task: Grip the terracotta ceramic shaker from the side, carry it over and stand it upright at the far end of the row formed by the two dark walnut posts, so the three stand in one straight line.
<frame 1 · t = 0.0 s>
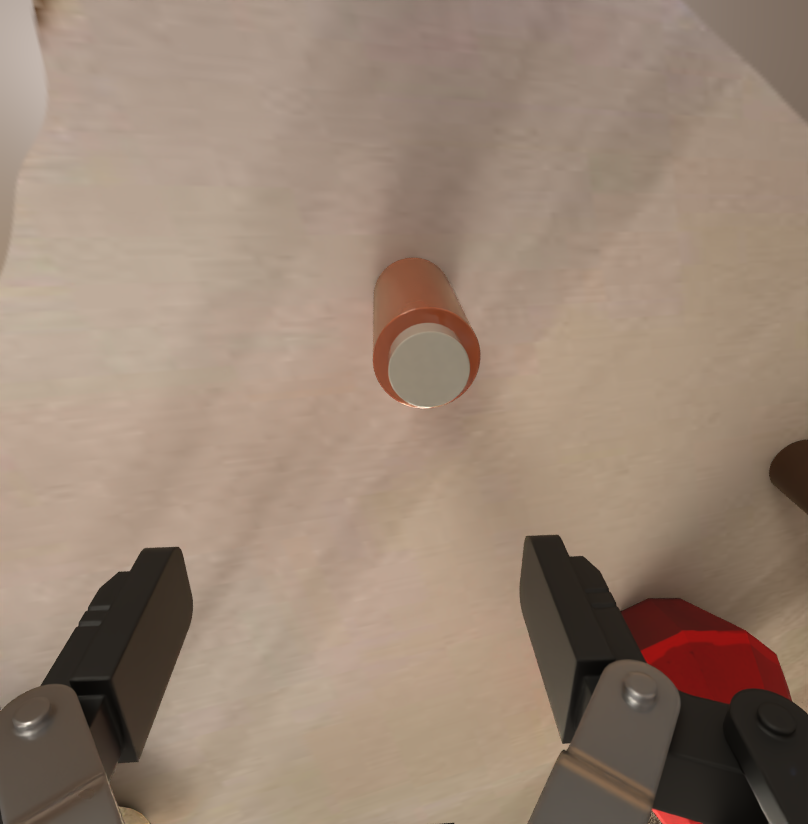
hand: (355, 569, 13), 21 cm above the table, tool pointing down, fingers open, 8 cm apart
shaker: (412, 297, 32), on the table
post b: (798, 465, 38), on the table
bottle: (652, 639, 45), on the table
bowl: (130, 817, 53), on the table
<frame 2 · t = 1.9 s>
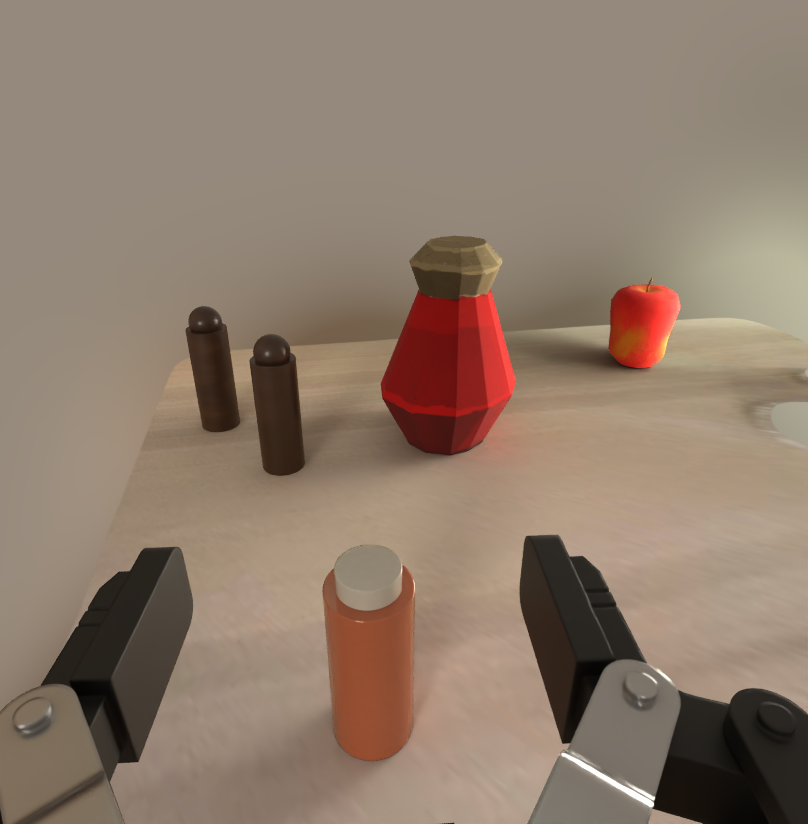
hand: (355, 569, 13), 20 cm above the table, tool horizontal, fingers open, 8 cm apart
apple: (633, 363, 80), on the table
shaker: (373, 722, 32), on the table
post b: (284, 464, 56), on the table
bottle: (446, 434, 62), on the table
post a: (221, 423, 63), on the table
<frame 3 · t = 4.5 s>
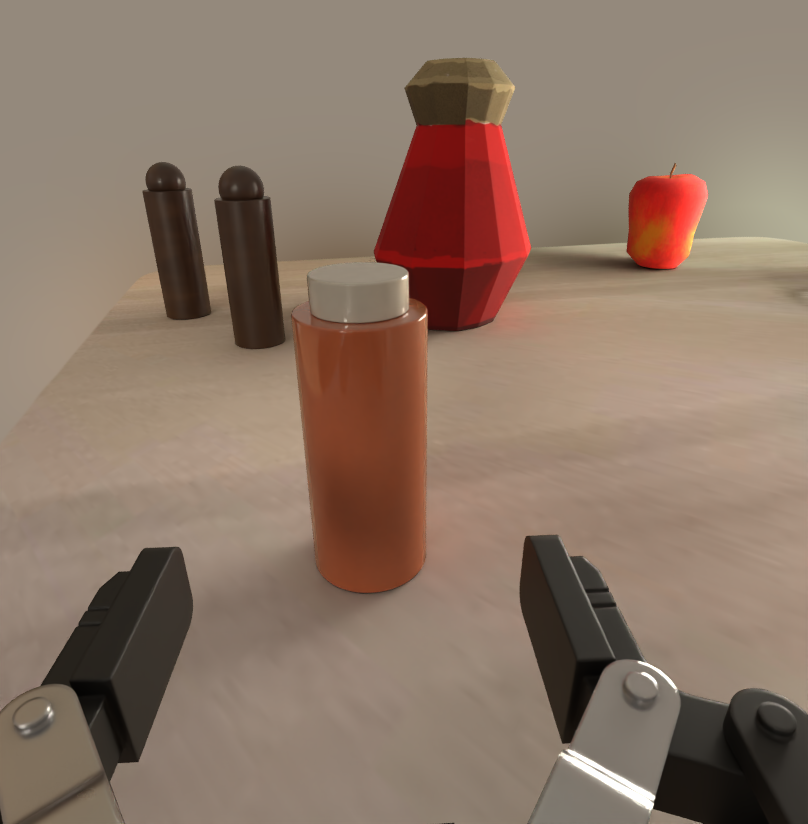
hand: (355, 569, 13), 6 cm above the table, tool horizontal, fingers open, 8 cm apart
apple: (655, 267, 72), on the table
shaker: (370, 554, 23), on the table
post b: (260, 340, 47), on the table
bottle: (451, 317, 53), on the table
post a: (189, 313, 54), on the table
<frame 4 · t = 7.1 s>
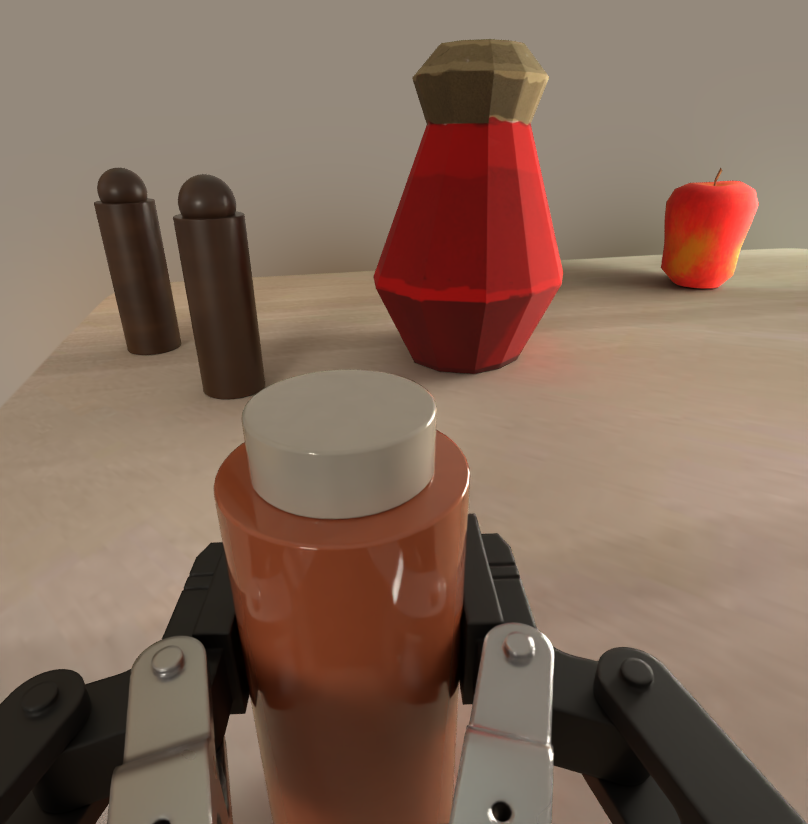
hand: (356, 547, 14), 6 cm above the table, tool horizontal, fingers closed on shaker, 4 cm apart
apple: (693, 285, 63), on the table
shaker: (364, 807, 14), on the table, touching gripper
post b: (234, 386, 38), on the table
bottle: (465, 353, 44), on the table
post a: (155, 346, 46), on the table
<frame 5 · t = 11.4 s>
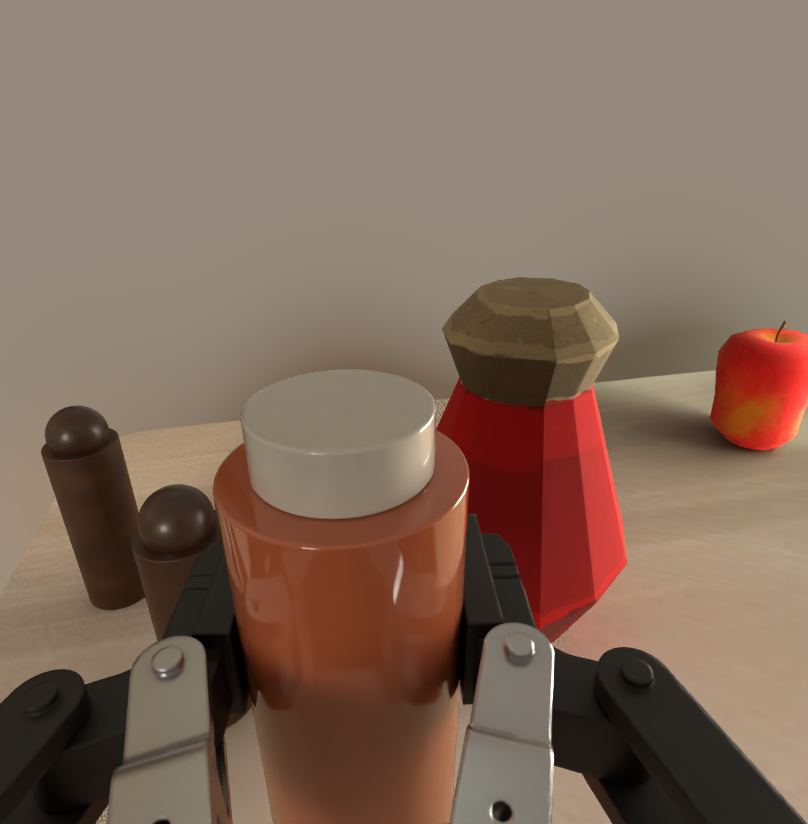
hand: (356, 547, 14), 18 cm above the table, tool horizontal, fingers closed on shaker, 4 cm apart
apple: (747, 440, 55), on the table
shaker: (364, 807, 14), point 12 cm above the table, touching gripper
post b: (217, 697, 30), on the table
bottle: (500, 604, 37), on the table
post a: (123, 587, 38), on the table
when the fingers open (6 cm above the table, at t = 15.5 s): shaker stays where it is, on the table.
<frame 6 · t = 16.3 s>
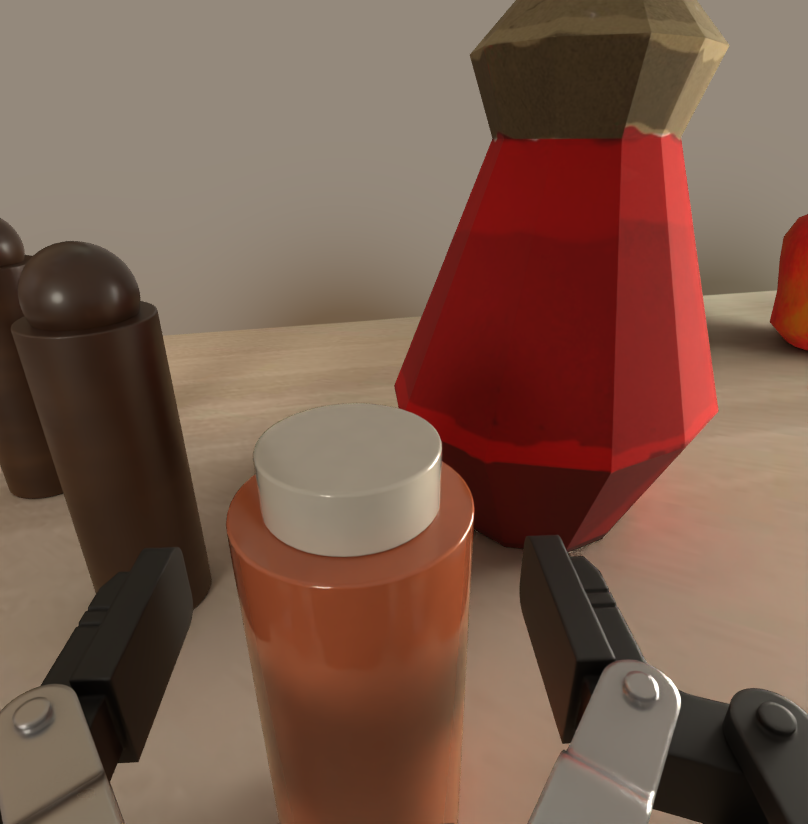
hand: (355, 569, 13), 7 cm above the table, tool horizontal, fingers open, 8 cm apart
shaker: (371, 823, 15), on the table
post b: (158, 590, 22), on the table
bottle: (537, 494, 28), on the table
post a: (54, 476, 30), on the table
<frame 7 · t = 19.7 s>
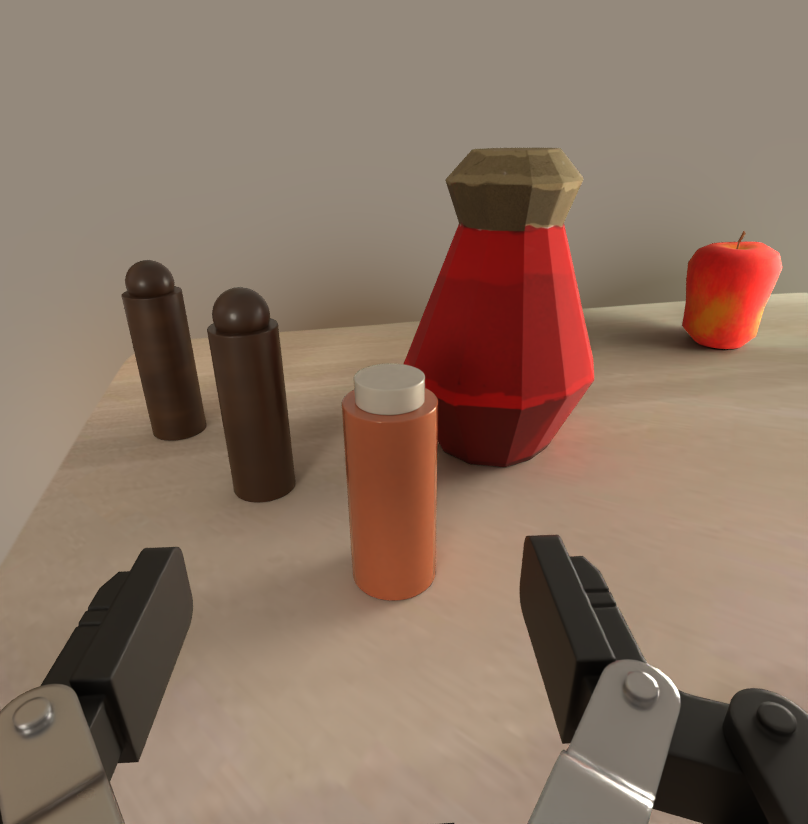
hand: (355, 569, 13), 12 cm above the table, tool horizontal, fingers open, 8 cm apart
apple: (715, 344, 63), on the table
shaker: (394, 570, 30), on the table
post b: (265, 485, 38), on the table
bottle: (493, 437, 44), on the table
post a: (180, 428, 46), on the table
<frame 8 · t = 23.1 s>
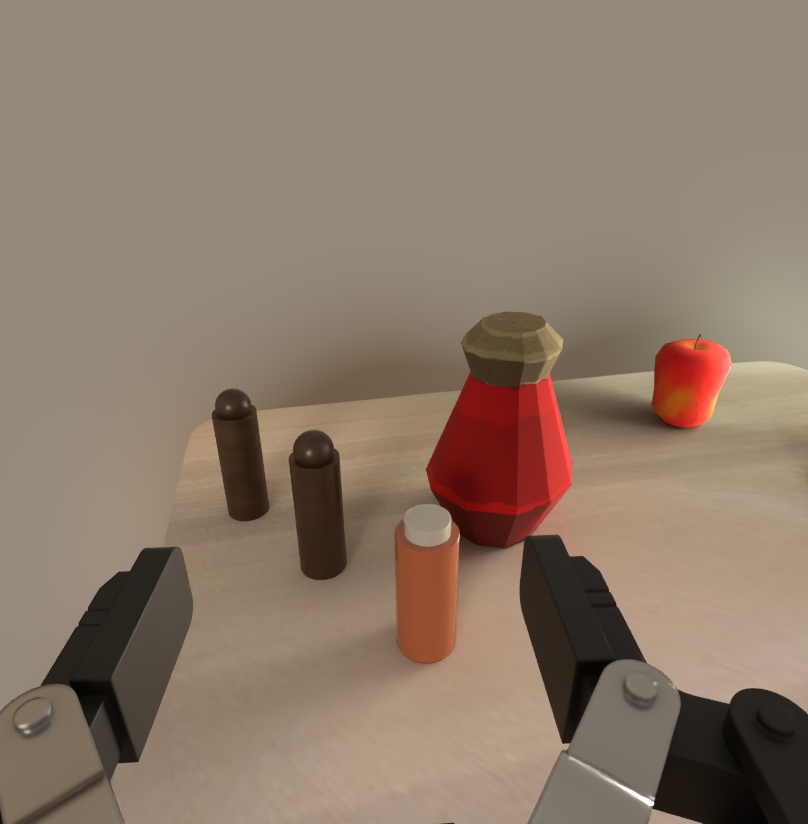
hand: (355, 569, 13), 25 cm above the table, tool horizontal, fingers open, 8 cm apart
apple: (679, 421, 75), on the table
shaker: (425, 639, 43), on the table
post b: (323, 564, 51), on the table
bottle: (495, 519, 57), on the table
post a: (249, 509, 58), on the table
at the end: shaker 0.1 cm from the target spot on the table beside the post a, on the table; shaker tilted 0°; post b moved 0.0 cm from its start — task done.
